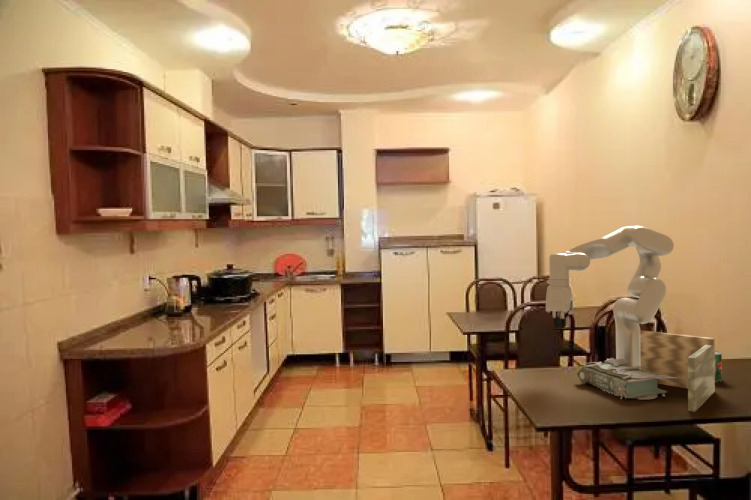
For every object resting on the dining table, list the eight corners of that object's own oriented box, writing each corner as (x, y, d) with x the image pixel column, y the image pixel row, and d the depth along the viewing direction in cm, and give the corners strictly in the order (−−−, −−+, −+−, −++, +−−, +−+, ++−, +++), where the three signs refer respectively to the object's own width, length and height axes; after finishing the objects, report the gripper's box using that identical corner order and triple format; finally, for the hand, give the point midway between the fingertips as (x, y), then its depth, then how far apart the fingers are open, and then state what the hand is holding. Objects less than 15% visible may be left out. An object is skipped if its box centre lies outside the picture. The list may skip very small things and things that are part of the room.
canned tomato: (726, 381, 204) (726, 354, 203) (706, 382, 204) (706, 354, 203) (713, 376, 211) (713, 349, 211) (694, 376, 212) (694, 349, 211)
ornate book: (573, 385, 208) (631, 405, 180) (572, 361, 208) (630, 378, 180) (618, 378, 215) (681, 397, 187) (617, 355, 215) (680, 371, 187)
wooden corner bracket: (616, 396, 190) (616, 342, 189) (642, 379, 210) (641, 330, 209) (695, 411, 172) (694, 352, 171) (714, 391, 192) (714, 338, 191)
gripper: (537, 283, 216) (537, 326, 217) (574, 285, 205) (574, 331, 206) (545, 281, 222) (546, 324, 222) (582, 283, 211) (582, 328, 211)
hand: (559, 327), depth 214 cm, fingers closed
